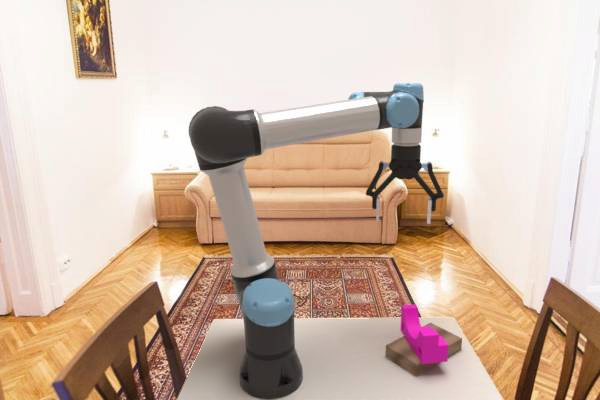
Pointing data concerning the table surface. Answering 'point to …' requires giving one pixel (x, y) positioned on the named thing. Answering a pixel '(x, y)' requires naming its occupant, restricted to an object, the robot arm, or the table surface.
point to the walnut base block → (408, 359)
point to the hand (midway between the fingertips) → (402, 221)
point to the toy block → (422, 337)
